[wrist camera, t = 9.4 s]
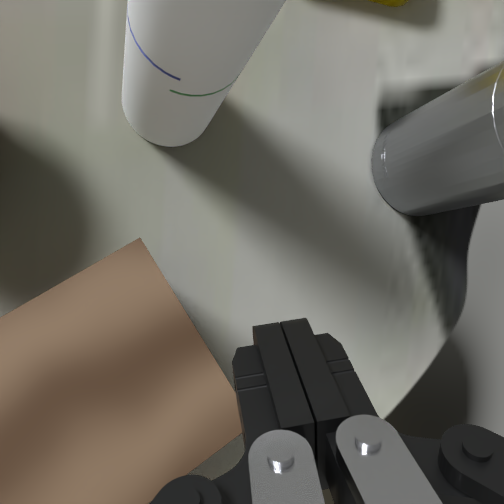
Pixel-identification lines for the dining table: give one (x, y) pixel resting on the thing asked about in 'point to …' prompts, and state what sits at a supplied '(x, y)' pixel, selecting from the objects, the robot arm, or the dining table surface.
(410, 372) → the dining table surface
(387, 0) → the element tile
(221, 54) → the cylindrical container
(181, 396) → the wooden box
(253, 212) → the dining table surface
